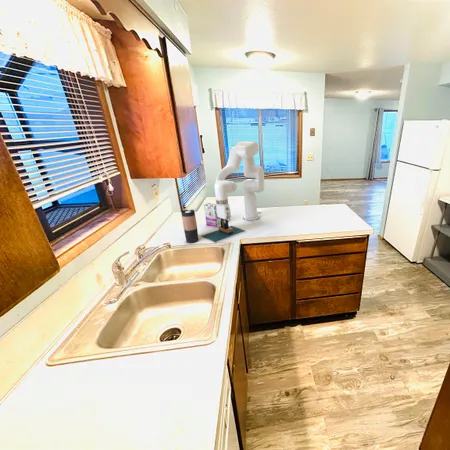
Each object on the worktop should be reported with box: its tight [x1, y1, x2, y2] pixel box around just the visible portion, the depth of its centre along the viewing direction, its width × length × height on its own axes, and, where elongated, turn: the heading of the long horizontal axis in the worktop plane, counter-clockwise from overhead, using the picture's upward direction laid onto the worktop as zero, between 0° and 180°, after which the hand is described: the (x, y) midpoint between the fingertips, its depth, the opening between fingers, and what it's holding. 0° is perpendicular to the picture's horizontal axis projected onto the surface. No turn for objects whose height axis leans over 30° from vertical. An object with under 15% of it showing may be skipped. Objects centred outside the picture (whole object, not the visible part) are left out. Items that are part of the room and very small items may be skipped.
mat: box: [201, 225, 246, 243], centre depth 164 cm, size 24×16×1 cm, turn 142°
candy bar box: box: [203, 202, 221, 228], centre depth 177 cm, size 11×5×16 cm, turn 62°
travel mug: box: [180, 209, 199, 244], centre depth 150 cm, size 8×8×20 cm
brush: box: [217, 219, 233, 235], centre depth 163 cm, size 4×10×10 cm, turn 57°
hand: (224, 227), depth 163 cm, fingers closed on brush, 3 cm apart
